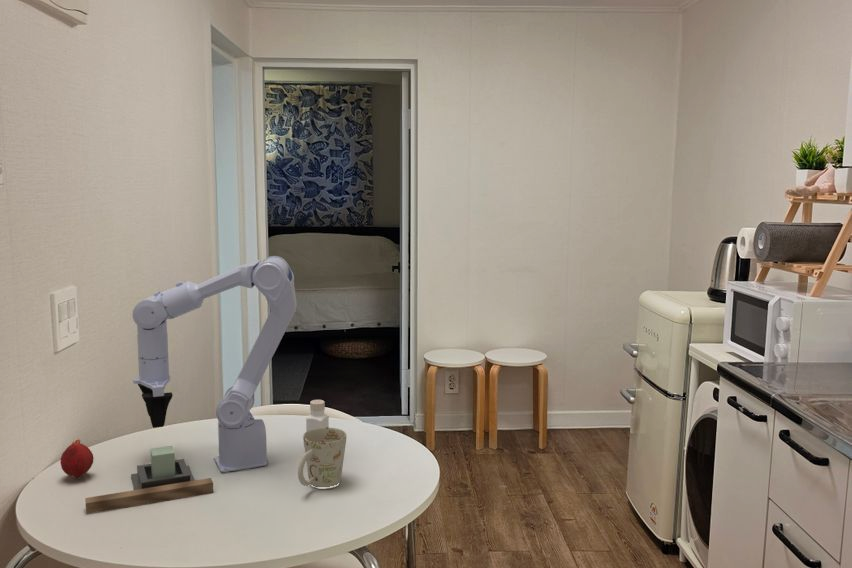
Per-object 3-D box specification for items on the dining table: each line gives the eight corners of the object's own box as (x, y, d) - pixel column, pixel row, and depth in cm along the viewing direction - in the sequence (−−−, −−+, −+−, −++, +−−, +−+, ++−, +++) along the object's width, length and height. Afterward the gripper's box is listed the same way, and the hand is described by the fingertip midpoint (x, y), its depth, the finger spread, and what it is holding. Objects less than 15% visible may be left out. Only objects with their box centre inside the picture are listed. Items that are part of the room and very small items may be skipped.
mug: (354, 479, 148) (354, 431, 147) (319, 504, 137) (319, 453, 135) (318, 471, 152) (318, 424, 150) (282, 495, 140) (281, 445, 139)
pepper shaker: (321, 446, 165) (321, 405, 164) (305, 444, 167) (305, 403, 165) (329, 440, 169) (329, 400, 167) (314, 438, 170) (313, 398, 169)
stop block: (173, 474, 148) (172, 445, 147) (175, 482, 144) (174, 452, 143) (151, 477, 146) (150, 448, 145) (153, 485, 142) (152, 455, 141)
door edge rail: (211, 487, 143) (210, 477, 143) (213, 492, 141) (213, 482, 141) (85, 508, 134) (85, 498, 134) (86, 514, 132) (85, 503, 131)
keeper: (188, 468, 152) (188, 456, 152) (197, 489, 143) (197, 476, 142) (131, 477, 148) (130, 464, 147) (136, 499, 138) (135, 486, 137)
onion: (81, 485, 143) (79, 446, 142) (55, 482, 144) (52, 443, 143) (100, 473, 149) (98, 435, 148) (74, 471, 150) (72, 433, 149)
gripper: (129, 349, 155) (132, 412, 157) (135, 367, 142) (138, 435, 144) (164, 346, 158) (167, 408, 160) (174, 363, 145) (176, 430, 147)
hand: (156, 420), depth 153 cm, fingers open, 7 cm apart
